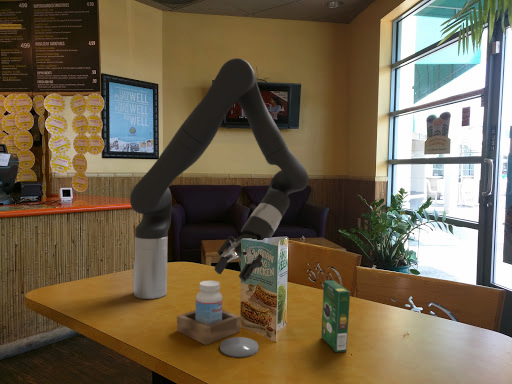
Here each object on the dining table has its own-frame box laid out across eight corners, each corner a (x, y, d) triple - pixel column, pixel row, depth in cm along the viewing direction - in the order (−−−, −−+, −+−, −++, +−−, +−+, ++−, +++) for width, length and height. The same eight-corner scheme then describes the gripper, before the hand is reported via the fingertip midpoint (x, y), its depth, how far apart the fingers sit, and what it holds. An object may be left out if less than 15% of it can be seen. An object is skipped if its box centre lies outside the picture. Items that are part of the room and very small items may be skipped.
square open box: (176, 330, 89) (177, 315, 88) (210, 319, 96) (211, 305, 96) (205, 345, 82) (206, 328, 82) (239, 331, 89) (240, 316, 89)
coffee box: (348, 352, 80) (351, 290, 80) (335, 353, 80) (338, 290, 79) (332, 336, 88) (334, 279, 88) (320, 337, 87) (322, 280, 87)
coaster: (212, 347, 81) (212, 345, 81) (239, 336, 86) (239, 334, 86) (239, 361, 75) (239, 358, 75) (266, 348, 81) (266, 345, 81)
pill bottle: (217, 338, 85) (218, 288, 85) (191, 335, 87) (192, 285, 86) (224, 327, 91) (226, 280, 91) (200, 324, 93) (201, 278, 92)
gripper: (235, 212, 104) (201, 261, 96) (277, 217, 94) (242, 272, 86) (248, 230, 108) (217, 278, 100) (289, 237, 98) (258, 291, 90)
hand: (229, 275), depth 93 cm, fingers open, 8 cm apart
